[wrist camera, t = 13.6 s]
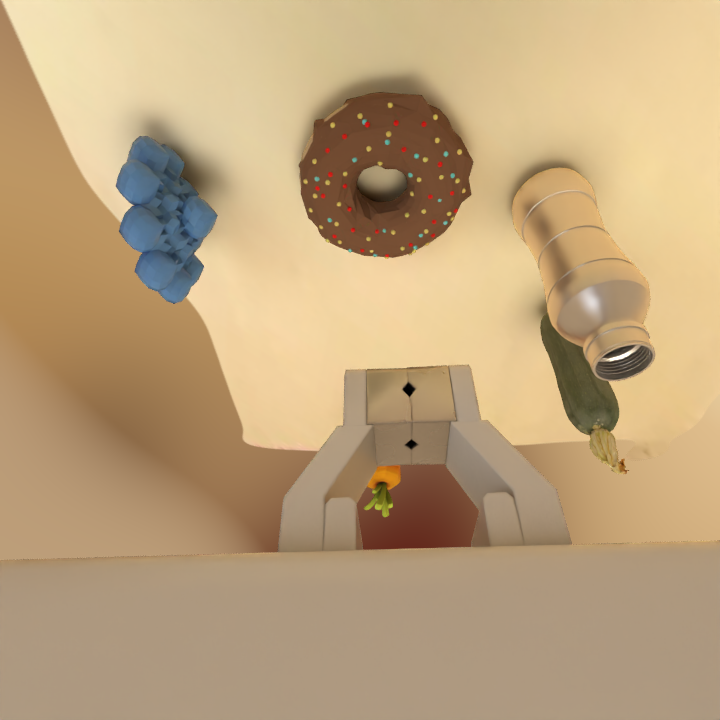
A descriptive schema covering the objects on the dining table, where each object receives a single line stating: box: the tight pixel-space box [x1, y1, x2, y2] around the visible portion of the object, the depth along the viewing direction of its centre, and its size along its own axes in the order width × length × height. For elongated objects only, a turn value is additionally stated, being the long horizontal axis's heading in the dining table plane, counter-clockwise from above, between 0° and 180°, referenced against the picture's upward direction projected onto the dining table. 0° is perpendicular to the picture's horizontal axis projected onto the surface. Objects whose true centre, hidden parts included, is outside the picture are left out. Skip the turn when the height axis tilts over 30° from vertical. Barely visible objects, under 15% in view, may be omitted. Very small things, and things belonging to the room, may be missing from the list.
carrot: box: [364, 465, 401, 517], centre depth 64 cm, size 5×5×15 cm
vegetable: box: [540, 312, 629, 474], centre depth 49 cm, size 4×4×20 cm
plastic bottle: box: [512, 168, 655, 381], centre depth 39 cm, size 6×7×20 cm
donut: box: [299, 92, 473, 259], centre depth 42 cm, size 14×14×5 cm
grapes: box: [116, 136, 218, 304], centre depth 40 cm, size 12×7×12 cm, turn 7°
